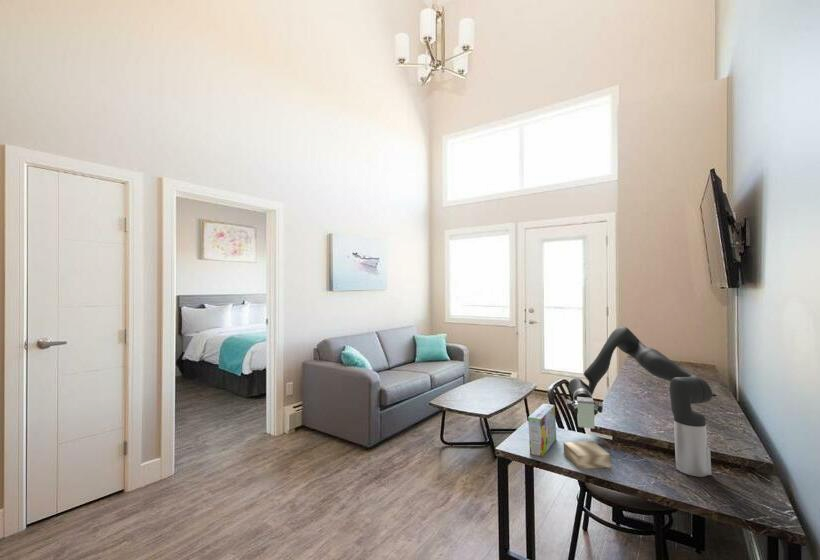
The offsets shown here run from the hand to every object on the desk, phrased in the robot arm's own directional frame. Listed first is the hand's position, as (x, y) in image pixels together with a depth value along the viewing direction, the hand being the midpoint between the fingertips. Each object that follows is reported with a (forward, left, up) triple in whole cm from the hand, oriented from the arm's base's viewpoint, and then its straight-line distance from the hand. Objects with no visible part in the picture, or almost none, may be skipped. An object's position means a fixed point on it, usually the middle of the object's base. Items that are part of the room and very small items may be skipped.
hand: (585, 411), depth 140 cm
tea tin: (-1, -3, -6) cm, 7 cm away
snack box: (+13, -13, -19) cm, 27 cm away
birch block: (0, -1, -19) cm, 19 cm away
